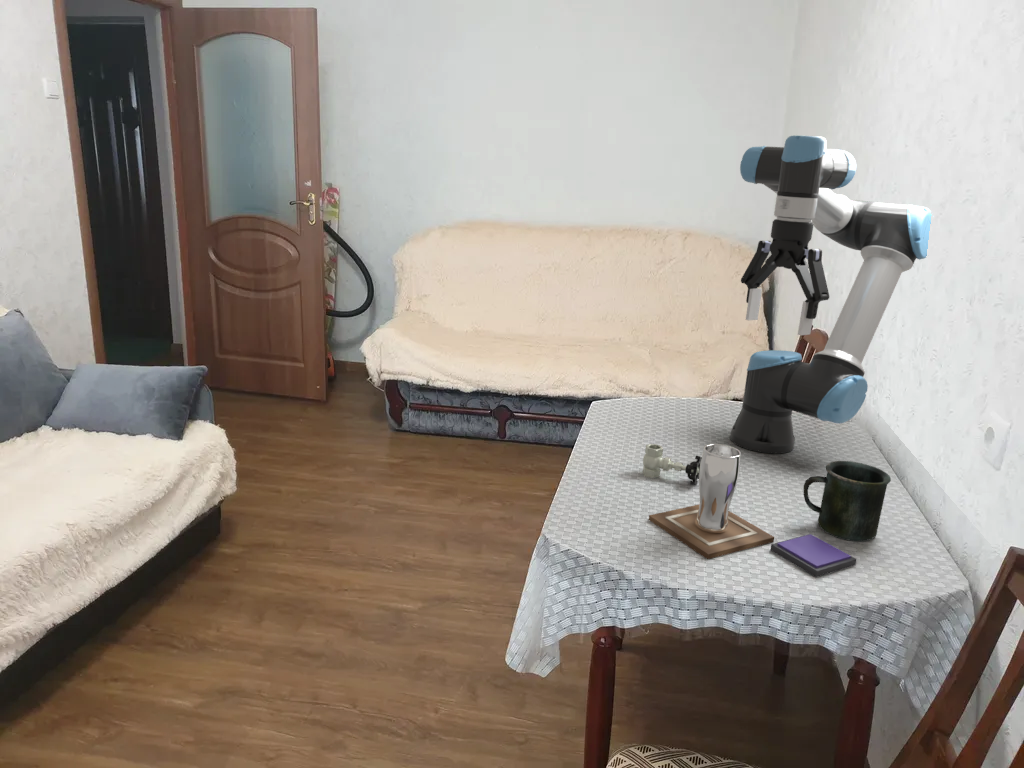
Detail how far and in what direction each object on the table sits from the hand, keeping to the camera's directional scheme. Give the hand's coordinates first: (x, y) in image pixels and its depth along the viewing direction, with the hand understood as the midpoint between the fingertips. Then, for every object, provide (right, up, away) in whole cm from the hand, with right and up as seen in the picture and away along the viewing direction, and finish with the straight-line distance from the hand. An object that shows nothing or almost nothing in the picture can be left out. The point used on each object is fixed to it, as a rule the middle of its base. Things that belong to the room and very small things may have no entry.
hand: (776, 327), depth 155 cm
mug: (+9, -39, -8) cm, 41 cm away
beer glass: (-17, -38, -13) cm, 43 cm away
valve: (-20, -32, +10) cm, 39 cm away
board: (-17, -39, -12) cm, 44 cm away
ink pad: (-1, -42, -20) cm, 46 cm away
